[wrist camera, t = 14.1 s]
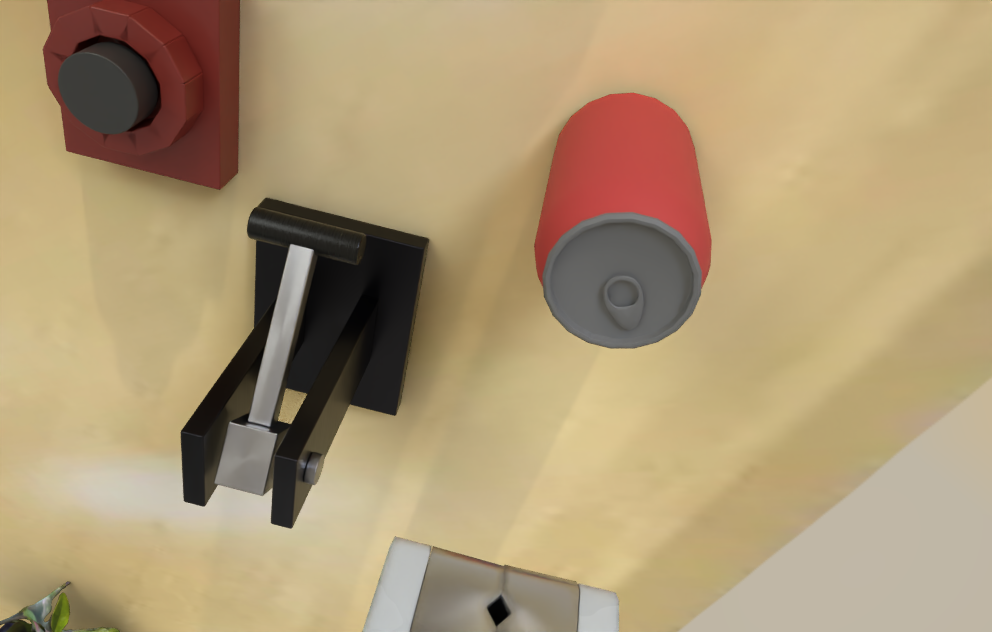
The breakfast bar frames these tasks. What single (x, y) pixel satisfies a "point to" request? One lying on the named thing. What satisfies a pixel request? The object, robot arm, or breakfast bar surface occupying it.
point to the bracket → (316, 357)
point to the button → (108, 87)
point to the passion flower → (36, 613)
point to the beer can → (623, 224)
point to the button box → (161, 82)
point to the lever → (279, 343)
